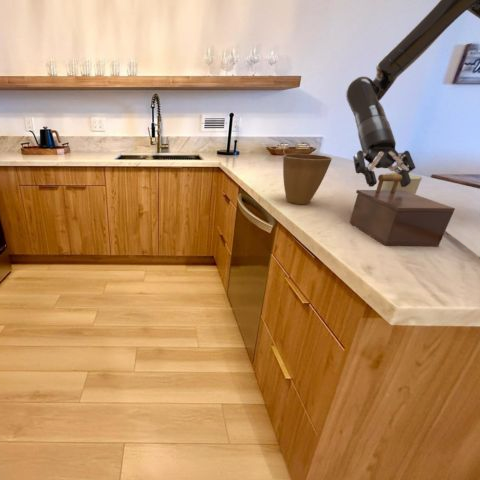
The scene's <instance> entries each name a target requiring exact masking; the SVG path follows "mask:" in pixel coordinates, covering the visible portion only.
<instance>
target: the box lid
mask: <svg viewBox="0 0 480 480" xmlns="http://www.w3.org/2000/svg"><path fill="white" fill-rule="evenodd" d="M377 177H378V178H377V181H378V182H377V187H376V189H357V190H356V194H357V195H358V194H360V195H362V196H365V197H367V198H369V199H371V200H374V201H376V202H378V203H380V204H382V205H385V206H387V207H389V208H391V209H394V210H396V211H435V212H453V213H454V212H455V210H456V208H455V207H452V206H449V205H446V204H444V203H441V202H438V201H435V200H432V199H429V198H427V197H424V196H420V195H418V194H412V193H409V192H407V191H404V190H396V188H397V185H398V182H399V181H401V180H402V175H385V174H379V175H378V176H377ZM383 181H394V184H393V187H392V190H381V187H382V184H383Z"/></svg>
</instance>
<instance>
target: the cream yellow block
mask: <svg viewBox="0 0 480 480" xmlns="http://www.w3.org/2000/svg"><path fill="white" fill-rule="evenodd" d="M384 175H398V174H397V173H396V172H386V173H384ZM409 176H410V179H411V182H410V184H409V185H407V186H406V187H401V184H400V181H399V182H398V185H397V188H396V190H404V191H407V192H409V193H412V194H415V195H417V191H418V189H419V186H420V183H421V181H422V179H423V177H422V176H421V175H417V174H412V173H409ZM393 184H394V181H383V184H382V187H381V190H392V187H393Z"/></svg>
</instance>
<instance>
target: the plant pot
mask: <svg viewBox="0 0 480 480" xmlns="http://www.w3.org/2000/svg"><path fill="white" fill-rule="evenodd" d="M332 159H333V158H332V157H330V156H328V155H327V156H326V155H321V154H320V155H319V154H311V153H310V154H309V153H287V154H284V155H283V161H282V175H283V176H282V177H283V187H284V194H285V199H286V201H287V202H288V203H290V204H294V205H308V204H310V202H311V201H312V200H313V197H314V196H315V195H316V193H317V191H318V189H319V188H320V186H321V184H322V183H323V180H324V178H325V177H326V174H327V173H328V169H329V167H330V165H331V162H332Z"/></svg>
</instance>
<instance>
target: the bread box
mask: <svg viewBox="0 0 480 480" xmlns="http://www.w3.org/2000/svg"><path fill="white" fill-rule="evenodd" d="M453 214H454V212H435V211H396V210H394V209H391V208H389V207H387V206H385V205H382V204H380V203H378V202H376V201H374V200H371V199H369V198H367V197H365V196H362V195H360V194H358V193H357V195H356V198H355V202H354V205H353V209H352V213H351V216H350V219H349V224H350V223H351V224H350V225H352V226H354V227H355V226H356V227H355V228H357V229H358V228H359V229H358V230H360V231H361V230H362V232H363V233H364V234H366V233H367V234H366V235H367V236H369V235H370V236H369V237H371V238H372V237H373V238H372V239H374V240H375V241H377V242H378V243H380V244H382V245H383V246H385V247H389V246H390V247H399V246H400V247H439V246H440V244H441V241H442V240H443V237H444V235H445V233H446V230H447V228H448V226H449V223H450V222H451V219H452V216H453Z"/></svg>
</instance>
